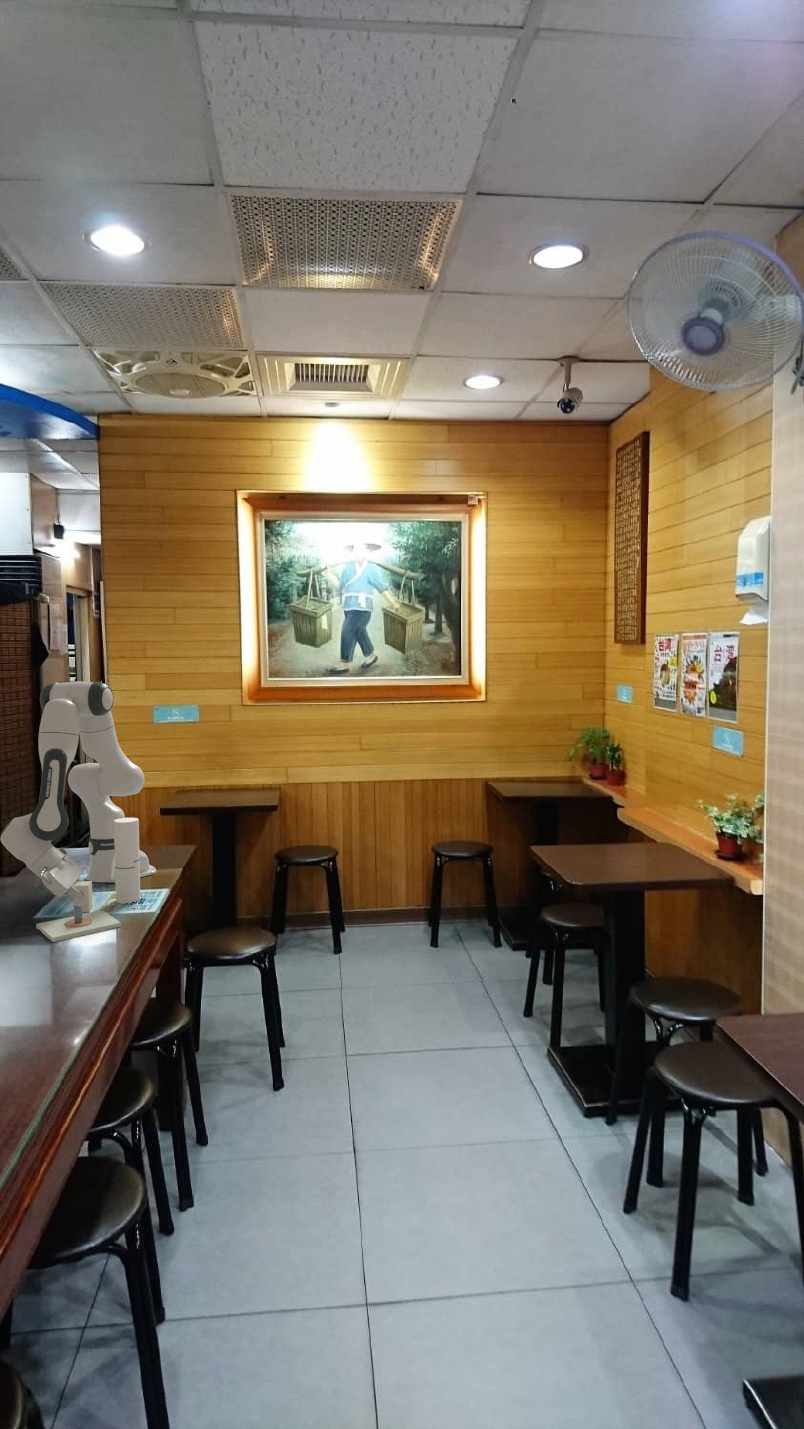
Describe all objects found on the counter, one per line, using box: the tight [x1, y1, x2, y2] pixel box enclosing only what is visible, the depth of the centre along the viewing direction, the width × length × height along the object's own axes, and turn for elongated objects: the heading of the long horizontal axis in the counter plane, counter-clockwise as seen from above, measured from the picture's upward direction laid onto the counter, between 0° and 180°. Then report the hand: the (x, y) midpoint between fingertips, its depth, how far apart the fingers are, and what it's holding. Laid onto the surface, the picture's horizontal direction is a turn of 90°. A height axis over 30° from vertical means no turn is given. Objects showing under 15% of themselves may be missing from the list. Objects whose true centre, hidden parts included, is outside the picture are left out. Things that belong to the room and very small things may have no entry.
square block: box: [72, 880, 94, 914], centre depth 229 cm, size 4×4×8 cm
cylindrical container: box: [114, 817, 141, 904], centre depth 238 cm, size 7×7×25 cm
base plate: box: [35, 904, 122, 943], centre depth 215 cm, size 18×14×6 cm
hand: (84, 894), depth 229 cm, fingers closed on square block, 4 cm apart
